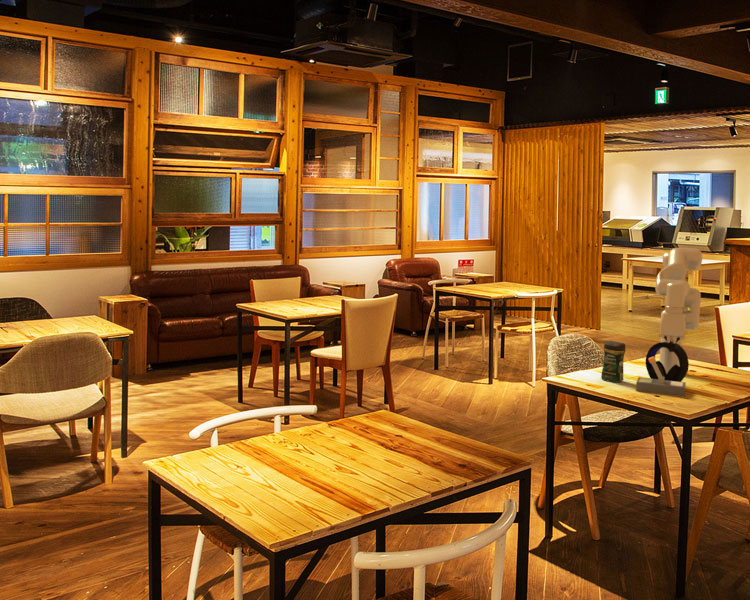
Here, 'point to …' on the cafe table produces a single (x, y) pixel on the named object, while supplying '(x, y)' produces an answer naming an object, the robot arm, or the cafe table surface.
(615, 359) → the coffee jar
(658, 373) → the lever
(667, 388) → the switch box
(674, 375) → the headphones
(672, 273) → the robot arm
